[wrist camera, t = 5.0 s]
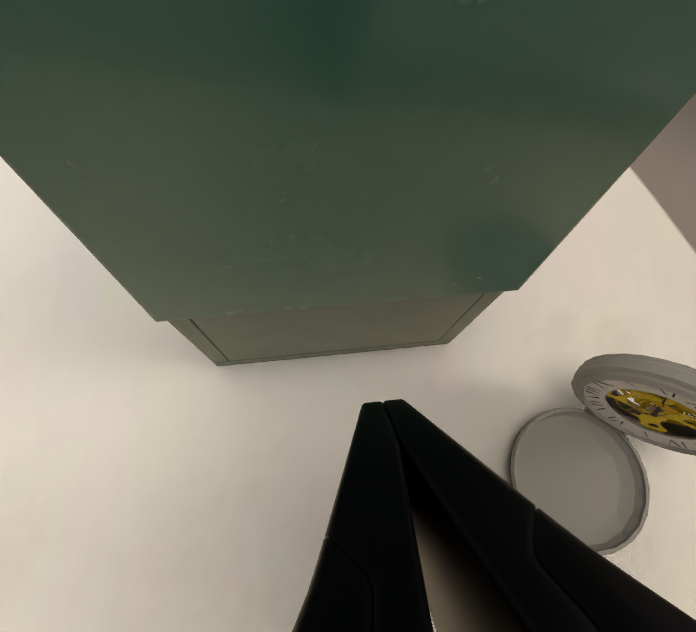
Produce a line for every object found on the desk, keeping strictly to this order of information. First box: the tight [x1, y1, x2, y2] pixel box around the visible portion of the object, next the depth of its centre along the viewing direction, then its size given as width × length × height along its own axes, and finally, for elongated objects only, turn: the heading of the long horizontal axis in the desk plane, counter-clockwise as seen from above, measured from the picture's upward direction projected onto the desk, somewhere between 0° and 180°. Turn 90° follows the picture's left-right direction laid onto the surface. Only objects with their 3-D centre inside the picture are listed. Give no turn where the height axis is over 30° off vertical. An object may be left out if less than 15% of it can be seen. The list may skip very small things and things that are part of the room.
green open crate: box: [169, 291, 504, 366], centre depth 20 cm, size 14×13×8 cm
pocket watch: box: [510, 354, 696, 555], centre depth 16 cm, size 8×8×10 cm
